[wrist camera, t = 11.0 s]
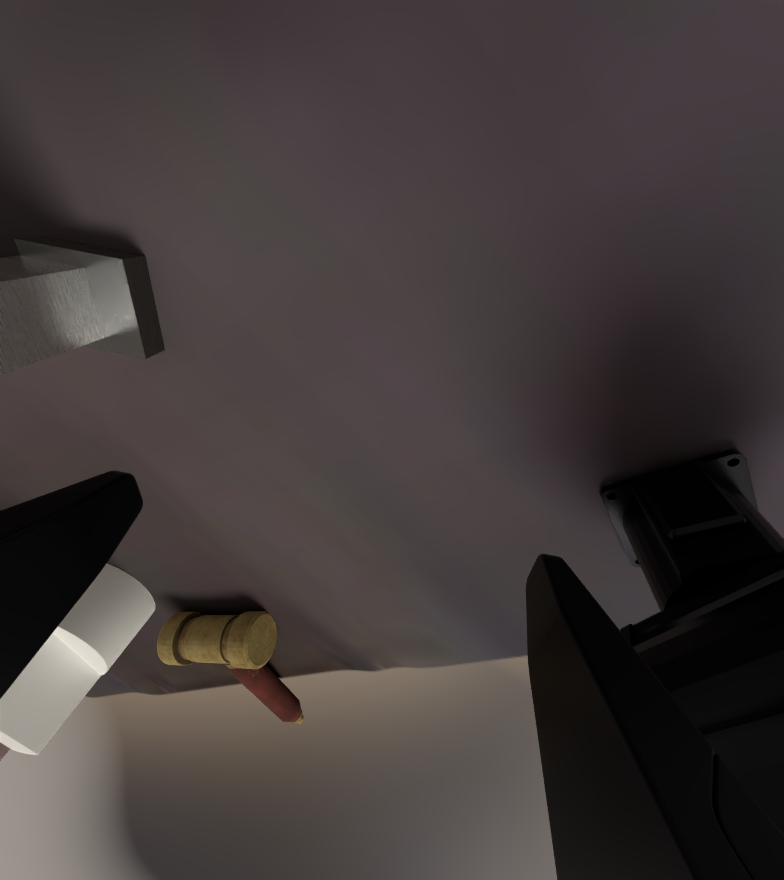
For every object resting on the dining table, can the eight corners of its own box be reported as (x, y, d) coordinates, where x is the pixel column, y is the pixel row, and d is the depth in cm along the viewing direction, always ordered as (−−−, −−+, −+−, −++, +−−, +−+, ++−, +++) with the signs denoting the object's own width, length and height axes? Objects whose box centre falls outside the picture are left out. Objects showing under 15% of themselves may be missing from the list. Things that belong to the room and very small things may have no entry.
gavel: (332, 748, 42) (257, 739, 45) (343, 701, 45) (273, 696, 48) (237, 652, 31) (146, 649, 34) (262, 600, 34) (177, 602, 37)
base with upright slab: (52, 560, 37) (-102, 691, 27) (119, 557, 35) (-25, 701, 25) (108, 616, 42) (-8, 747, 32) (171, 618, 39) (67, 761, 29)
